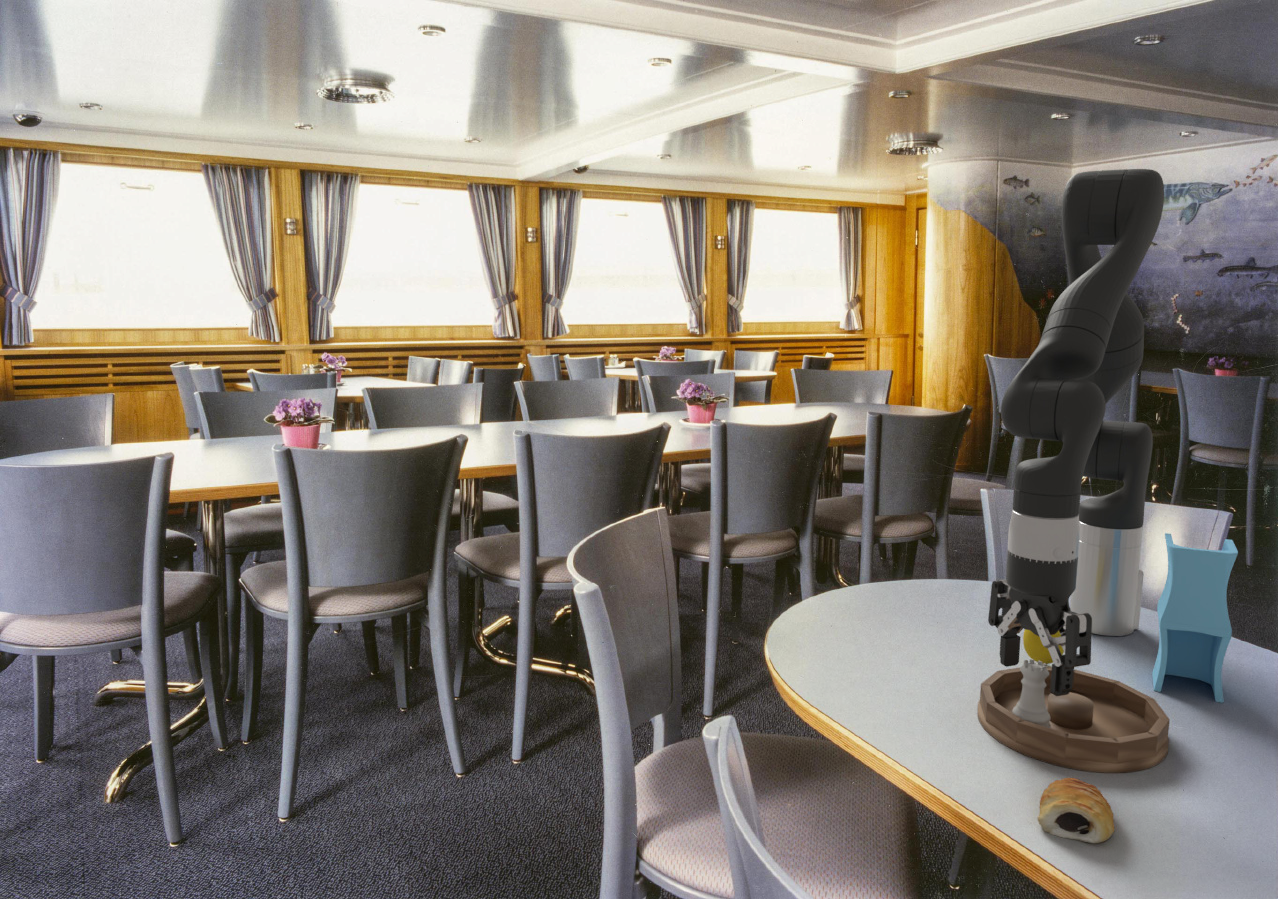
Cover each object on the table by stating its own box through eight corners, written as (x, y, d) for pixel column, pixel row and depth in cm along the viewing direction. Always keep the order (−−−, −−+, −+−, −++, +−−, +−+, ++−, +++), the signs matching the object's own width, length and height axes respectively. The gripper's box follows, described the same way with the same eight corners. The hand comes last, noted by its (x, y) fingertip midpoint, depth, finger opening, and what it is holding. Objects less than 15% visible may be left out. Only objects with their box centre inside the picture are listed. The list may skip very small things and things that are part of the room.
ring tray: (1074, 681, 120) (1076, 657, 119) (1212, 756, 100) (1215, 727, 99) (942, 701, 114) (944, 676, 113) (1061, 785, 94) (1064, 755, 93)
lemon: (1068, 675, 121) (1072, 621, 120) (1026, 672, 123) (1030, 618, 121) (1058, 659, 127) (1061, 607, 125) (1017, 657, 128) (1021, 605, 127)
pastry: (1043, 787, 94) (1046, 755, 93) (1113, 805, 91) (1117, 771, 90) (1035, 833, 86) (1038, 798, 85) (1113, 854, 83) (1116, 818, 82)
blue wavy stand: (1217, 679, 120) (1232, 539, 116) (1223, 702, 113) (1240, 554, 110) (1151, 668, 123) (1164, 532, 120) (1153, 690, 117) (1167, 546, 113)
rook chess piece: (1048, 720, 106) (1053, 658, 105) (1052, 737, 102) (1058, 673, 101) (1008, 714, 108) (1013, 654, 107) (1011, 731, 104) (1016, 668, 102)
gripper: (1117, 563, 96) (1105, 700, 99) (1026, 530, 109) (1018, 651, 112) (1061, 570, 94) (1050, 710, 96) (975, 536, 107) (968, 659, 110)
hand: (1033, 678), depth 104 cm, fingers open, 8 cm apart
